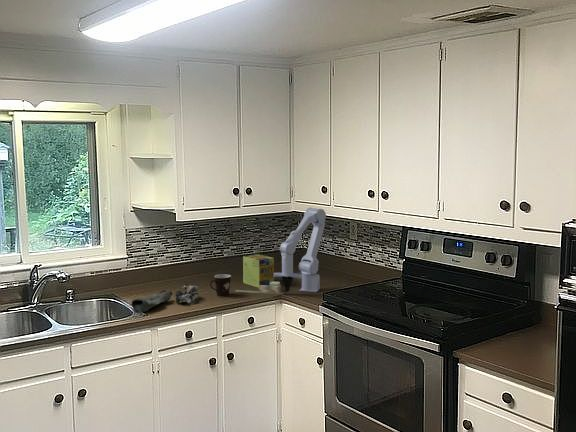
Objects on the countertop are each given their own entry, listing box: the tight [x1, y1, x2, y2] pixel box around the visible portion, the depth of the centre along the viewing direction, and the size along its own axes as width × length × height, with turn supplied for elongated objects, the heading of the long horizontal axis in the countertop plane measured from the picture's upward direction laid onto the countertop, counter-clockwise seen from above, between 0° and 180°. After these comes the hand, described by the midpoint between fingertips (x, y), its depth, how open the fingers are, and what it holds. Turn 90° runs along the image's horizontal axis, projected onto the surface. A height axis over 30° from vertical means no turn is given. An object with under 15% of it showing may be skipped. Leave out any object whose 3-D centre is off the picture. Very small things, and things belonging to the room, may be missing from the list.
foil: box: [175, 282, 200, 305], centre depth 314 cm, size 12×11×15 cm
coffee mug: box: [209, 273, 232, 297], centre depth 324 cm, size 12×9×10 cm
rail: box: [234, 289, 284, 295], centre depth 330 cm, size 26×2×1 cm, turn 75°
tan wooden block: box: [258, 284, 283, 295], centre depth 328 cm, size 12×3×4 cm, turn 75°
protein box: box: [242, 254, 275, 289], centre depth 348 cm, size 10×15×16 cm
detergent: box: [131, 289, 173, 313], centre depth 304 cm, size 13×7×25 cm
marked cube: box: [270, 281, 281, 286], centre depth 333 cm, size 4×5×4 cm
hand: (287, 290), depth 326 cm, fingers closed
